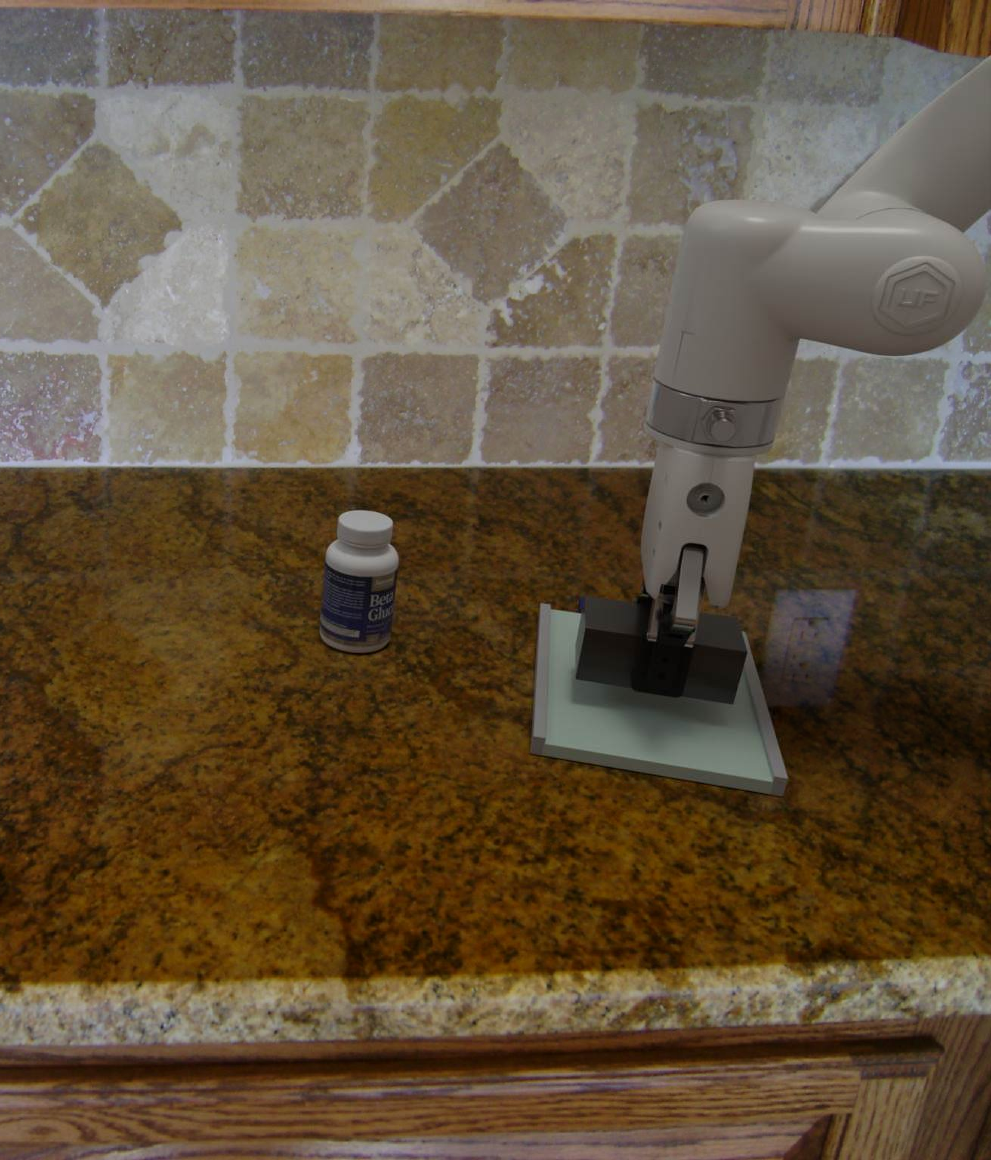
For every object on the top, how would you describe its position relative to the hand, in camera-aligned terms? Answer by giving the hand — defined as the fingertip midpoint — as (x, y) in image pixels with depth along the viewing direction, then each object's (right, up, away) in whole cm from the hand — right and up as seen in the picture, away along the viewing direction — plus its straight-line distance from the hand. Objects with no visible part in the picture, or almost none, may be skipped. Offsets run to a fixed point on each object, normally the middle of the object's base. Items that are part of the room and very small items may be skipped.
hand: (653, 669), depth 79 cm
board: (+1, -2, +3) cm, 4 cm away
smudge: (+1, +3, +14) cm, 15 cm away
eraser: (0, 0, 0) cm, 0 cm away
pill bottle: (-19, +1, +10) cm, 22 cm away
